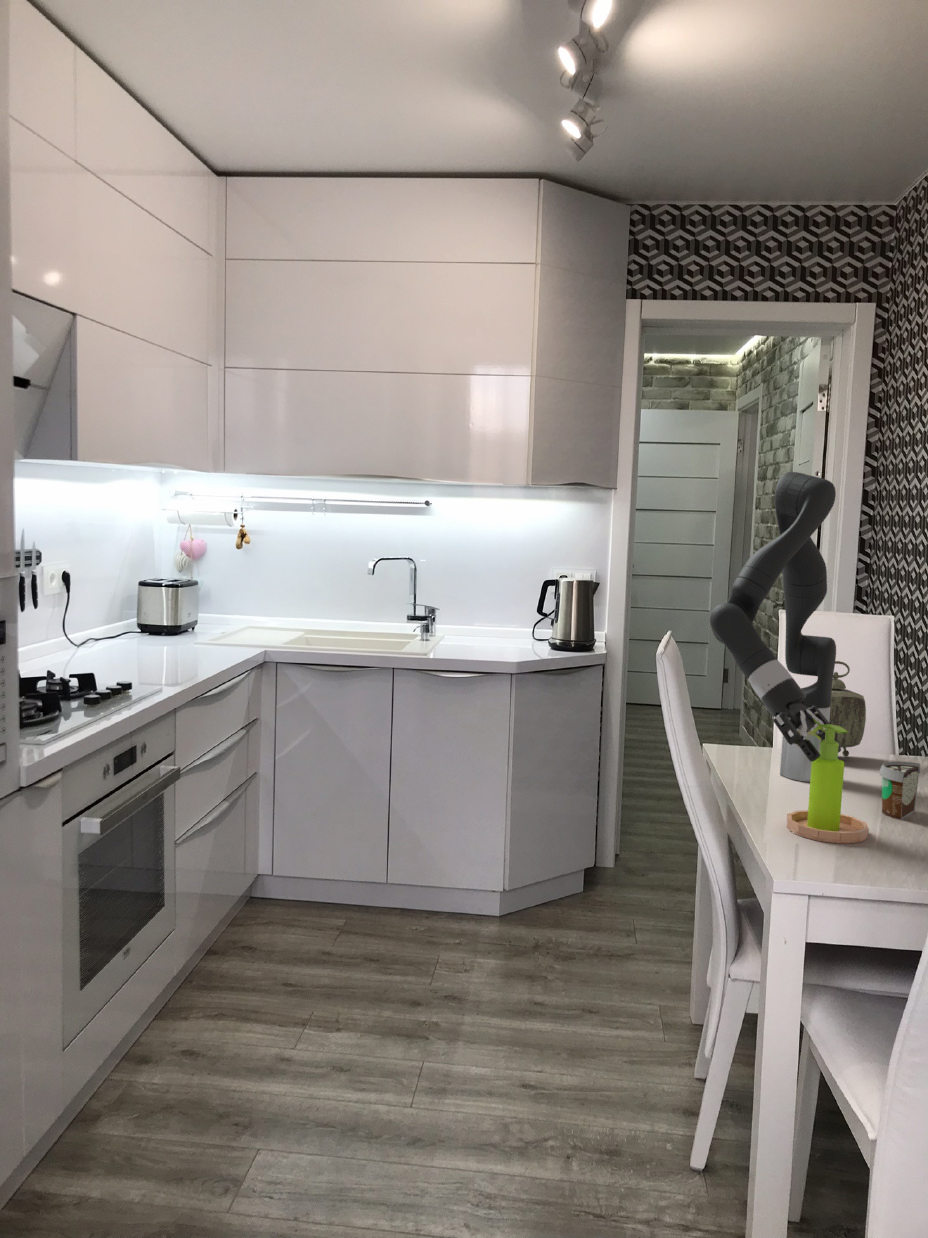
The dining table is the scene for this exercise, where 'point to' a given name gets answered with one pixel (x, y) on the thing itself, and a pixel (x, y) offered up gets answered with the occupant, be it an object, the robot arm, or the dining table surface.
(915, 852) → the dining table surface
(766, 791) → the dining table surface
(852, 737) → the tabletop clock
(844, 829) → the terracotta dish
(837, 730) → the soap dispenser
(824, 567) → the robot arm
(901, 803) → the food container
